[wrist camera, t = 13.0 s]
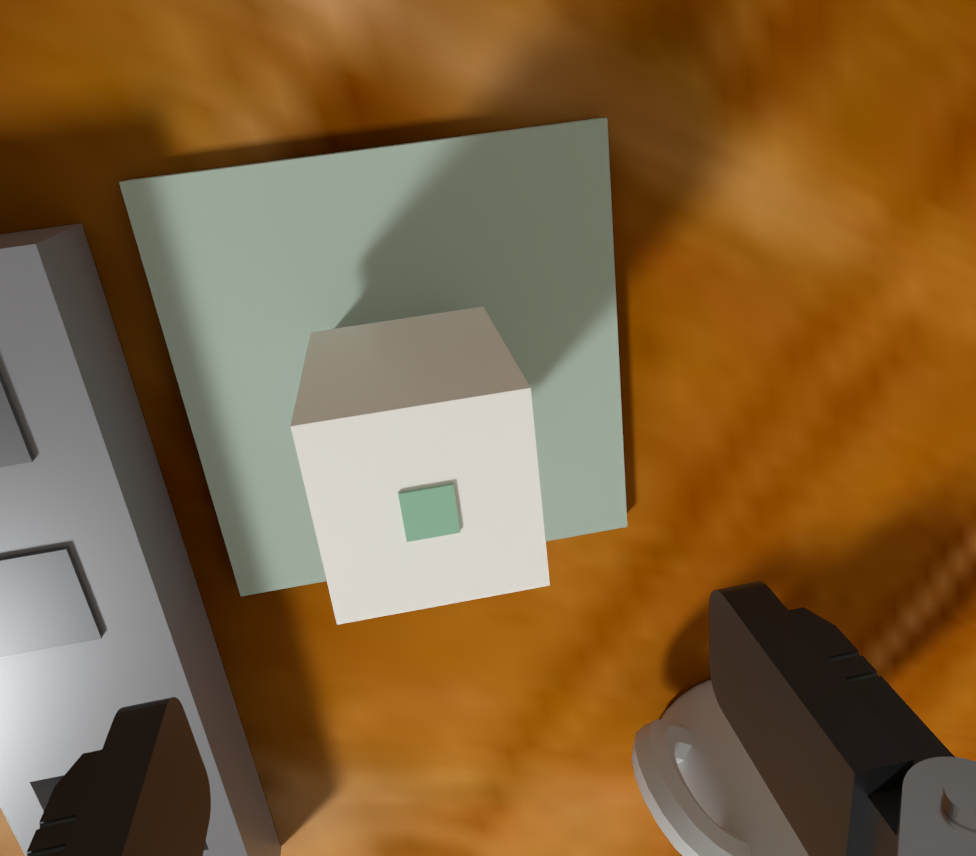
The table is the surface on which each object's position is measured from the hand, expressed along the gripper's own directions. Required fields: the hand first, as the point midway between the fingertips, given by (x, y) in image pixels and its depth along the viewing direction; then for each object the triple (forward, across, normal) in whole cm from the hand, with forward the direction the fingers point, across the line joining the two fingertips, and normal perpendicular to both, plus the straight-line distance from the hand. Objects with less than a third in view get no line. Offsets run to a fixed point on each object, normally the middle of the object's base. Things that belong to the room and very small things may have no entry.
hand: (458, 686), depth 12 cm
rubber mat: (+15, 0, 0) cm, 15 cm away
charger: (+15, 0, 0) cm, 15 cm away
